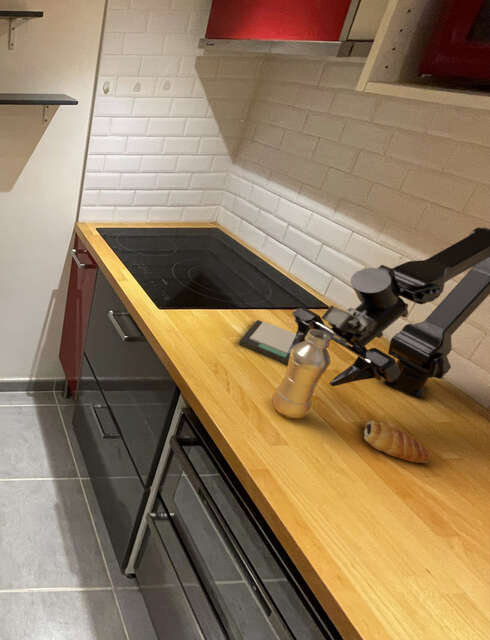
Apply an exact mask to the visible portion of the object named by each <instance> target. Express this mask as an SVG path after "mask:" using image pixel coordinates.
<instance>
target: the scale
mask: <svg viewBox="0 0 490 640" xmlns="http://www.w3.org/2000/svg"><path fill="white" fill-rule="evenodd" d="M296 334H297V333H294V332H293V331H290V330H286V329H285V328H282V327H280V326H277V325H275V324H272V323H269V322H266V321H261V320H259V319H257V320H256V321H255V322H254V323H253V324H252V325H251V327H250V328H249V329H248V331H246V333H245V334H244V335H243V336H242V337H241V339H240V340H239V342H238V345H239V346H241V347H244V348H246V349H249V350H251V351H253V352H256V353H258V354H260V355H262V356H265V357H267V358H270V359H272V360H274V361H277V362H278V363H281V364H283V365H286V366H288V363H289V357H290V356H289V355H288V354H287V353H288V351H289V349H290V347H291V345H292V343H293V341H294V339H295V336H296Z"/></svg>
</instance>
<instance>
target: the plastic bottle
mask: <svg viewBox="0 0 490 640" xmlns="http://www.w3.org/2000/svg"><path fill="white" fill-rule="evenodd" d="M331 341H332V340H331V336H330V335H329V334H327V333H325V332H323V331H320V330H315V329H311V330H309V331H308V333H307V335H306V336H305V341H303V342H300V343H298V344H296V345H295V346H294V347H293V348H292V349H291V352H290V357H289V363H288V365H287V367H286V370H285V373H284V376H283V378H282V380H281V382H280V383H279V385H278V386H277V387H276V388H275V390H274V392H273V394H272V398H271V402H272V405H273V407H274V409H275V410H276V411H277V412H278V413H279V414H281V415H283V416H285V417H287V418H291V419H301V418H304V417H306V416H307V414H308V413H309V412H310V411H311V406H312V399H313V396H314V392H315V389H316V387H317V385H318V384H319V382H320V379H321V378H322V376H323V375H324V374H325V372H326V371H327V369H328V368H329V366H330V365H331V356H330V353H329V351H328V349H327V348H329V346H330V342H331Z"/></svg>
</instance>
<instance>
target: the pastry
mask: <svg viewBox="0 0 490 640" xmlns="http://www.w3.org/2000/svg"><path fill="white" fill-rule="evenodd" d="M363 430H364V431H363V433H364V435H363V437H364V438H363V439H364V441H366V442H367V443H368V444H369V445H370V446H371V447H372V448H374V449H376V450H377V451H379V452H380V451H382V452H384V453H385V454H386V455H389V456H392V457H393V458H394V457H395V458H398V459H400V460H404V461H408V462H410V463H419V464H425V463H428V461H429V459H430V454H431V452H430V449H428V448H427V447H426V446H425V445H424V444H422V443H421V442H420V441H417V439H416V438H415V437H412V436H410V435H409V434H408V433H407V432H405V431H401V430H400V429H399V428H398V427H397V426H394V425H393V426H391V425H389V424H388V423H387V422H384V421H379V422H378V421H377V420H375V419H371V420H368V422H366V423H365V428H364V429H363Z"/></svg>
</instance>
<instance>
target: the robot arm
mask: <svg viewBox="0 0 490 640" xmlns="http://www.w3.org/2000/svg"><path fill="white" fill-rule="evenodd" d="M467 270H469V271H468V272H467V273H466V274H465V275H464V276H463V278H462V279H460V281H459V282H457V284H456V285H455V287H453V288H452V290H450V292H449V293H448V294H447V295H446V296H445V297H444V298H443V299H442V300H441V301H440V303H439V304H438V305H437V306H436V307H435V308H434V310H432V311H431V313H430V314H429V315H428V316H427V317H426V318H425V320H423V321H421V322H417V323H414V324H412V323H407V324H405V325H404V326H403V328H402V329H400V331H399V332H397V333H395V334H394V335H393V336H392V338H391V339H390V341H389V345H388V346H389V347H388V350H387V351H388V352H387V353H385V352H383V351H382V350H380V349H378V348H377V347H371V348H369V349H367V347H366V346H367V345H368V344H369V343H370V342H371V341H373V340H374V339H375V338H378V339H380V338H382V337H383V336H384V333H383V332H384V331H385V330H387V328H388V327H390V326H392V324H394V323H395V322H396V321H397V320H398V319H399V318H401V317H402V318H407V317H408V315H409V311H408V310H409V309H408V308H409V304H408V303H407V302H405V300H404V299H406V300H408V301H409V302H410V301H411V302H412V303H415V304H416V305H417V304H418V305H425V304H428V303H431V302H434V301H435V300H437V299H438V298H439V297H440V296H441V294H442V293H443V292H444V289H445V284H446V283H447V282H449V281H450V280H452V279H454V278H455V277H457V276H458V275H461V274H462V273H464V272H466V271H467ZM350 283H351V286H352V289H353V290H354V292H355V294H356V297H357V299H358V301H359V303H360V304H359V305H358V306H356V307H355V308H354V307H349V308H347V309H346V310H342V309H340V308H338V307H336V306H335V305H330V306H329V308H328V309H327V310H326V311H325V313H324V314H323V315H322V316H320V315H319V314H317V313H315V312H314V311H312V310H310V309H308V308H307V307H298V308H296V309H295V310H294V311H293V312H292V313H291V314H292V316H293V318H294V322H295V324H296V325H297V330H296V333H295V334H296V336H295V339H294V341H293V343H292V345H291V347H290V349H289V351H288V353H287V354H288V355H289V356H290V352H291V349H292V348H293V347H294V346H295V345H296V344H298V343H300V342H303V341H305V336H306V335H307V333H308V331H309V330H311V329H315V330H320V331H323V332H325V333H327V334H329V335H330V336H331V340H330V341H333V342H335V343H336V344H338V345H340V346H342V347H343V348H345V349H346V350H347V351H349V352H351V353H352V354H353V355H354V354H355V355H356V356H357V358H356V359H355V361H354V362H353V363H352V364H351V365H350V366H349V367H347V368H346V369H344V370H343V371H342V372H340V373H339V374H338V375H336V376H335V377H334V378H333V379H332V380H331V381H329V385H330V386H331V387H337V386H340V385H341V386H342V385H344V384H348V383H349V384H350V383H353V382H359V381H364V380H371V379H375V380H377V381H381V380H383V379H384V381H383V385H386V386H388V387H390V388H393V389H394V390H398V391H400V392H402V393H404V394H409V395H410V396H413V397H415V398H418V399H421V400H422V399H423V397H424V392H425V388H426V383H427V382H428V380H429V379H432V378H435V379H440V380H441V379H443V378H444V376H445V375H446V374H448V373H449V371H450V370H451V368H452V366H451V363H450V361H449V359H448V355H449V354H450V353H452V352H451V351H452V350H453V349H452V348H453V346H452V344H453V343H452V336H453V334H454V333H455V332H456V331H457V330H458V329H459V328H460V327H461V326H462V325H463V323H465V321H466V320H467V319H468V318H469V317H470V316H471V315H472V314H473V313H474V312H475V311H476V309H478V308H479V307H480V306H481V304H483V302H484V301H485V300H486V299H487V298H488V297H489V296H490V228H489V227H480V226H479V227H476V228H475V229H472V231H470V233H469V235H468V236H466V237H464V238H462V239H460V240H458V241H457V242H455V243H453V244H452V245H450V246H448V247H446V248H444V249H443V250H441V251H439V252H437V253H435V254H433V255H432V256H429V257H428V258H426V259H424V260H423V259H421V260H409V261H406V262H404V263H402V264H398V265H396V266H394V267H389V266H387V265H384V264H381V265H380V266H379V267H376V268H375V267H370V268H364V269H360V270H357V271H356V272H354V273H353V275H352V276H351V278H350ZM403 298H404V299H403ZM323 320H324V321H325V322H327V324H328V325H329V326H328V325H326V324H325V323H324V321H323ZM396 359H397V360H396Z"/></svg>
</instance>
